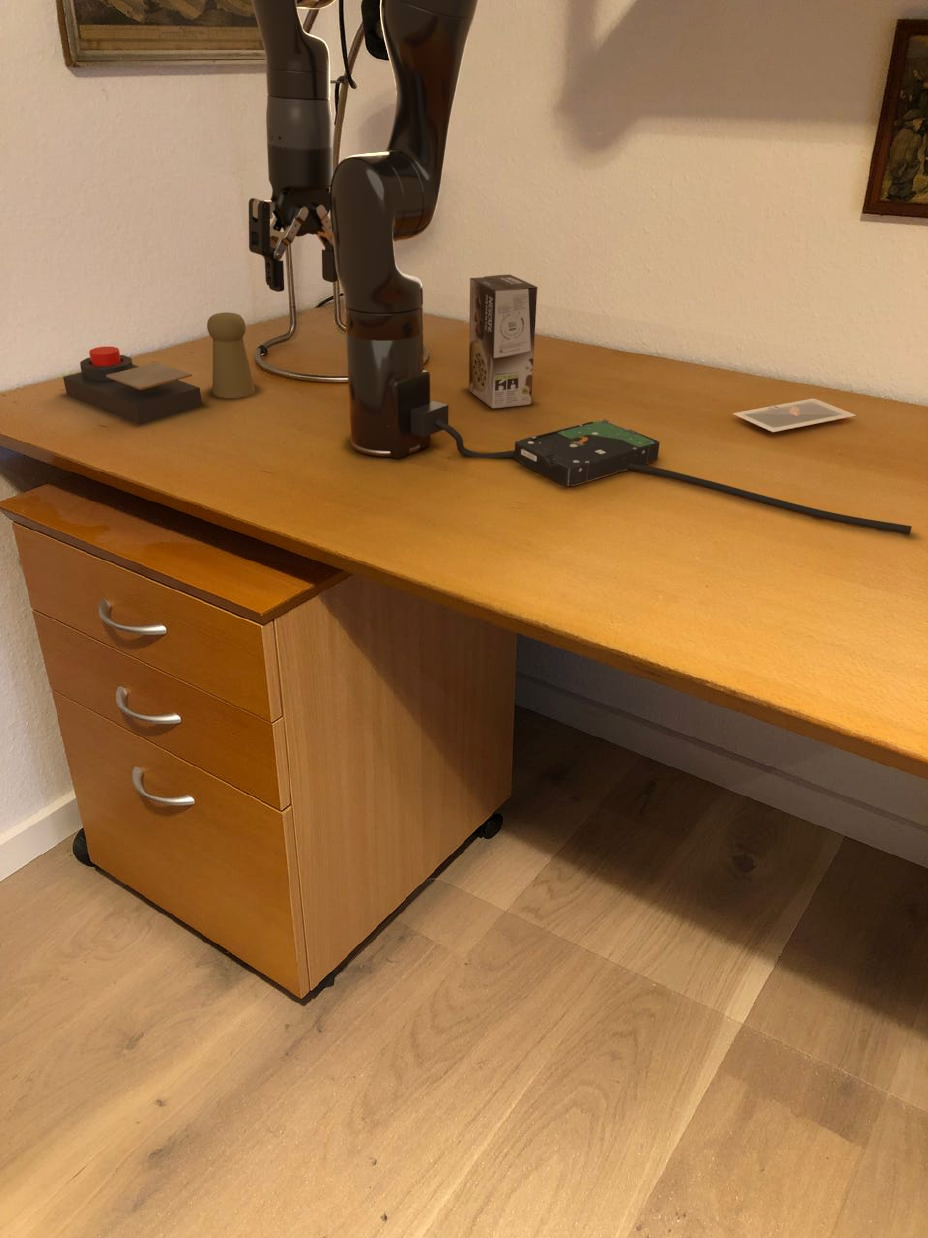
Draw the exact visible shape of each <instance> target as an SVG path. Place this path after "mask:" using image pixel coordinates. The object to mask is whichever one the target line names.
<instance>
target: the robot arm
mask: <svg viewBox="0 0 928 1238" xmlns="http://www.w3.org/2000/svg"><path fill="white" fill-rule="evenodd" d="M250 1H251V4H252V8H253V11H254V16H255V19H256V22H257V26H258V31H259V34H260V38H261V42H262V45H263V49H264V54H265V76H266V77H265V78H266V94H267V96H266V109H265V110H266V111H265V113H266V114H265V127H266V129H265V130H266V148H267V150H266V151H267V169H268V170H267V172H268V173H267V174H268V181H269V184H270V187H271V190H272V191H271V197H270V200H269V199H264V200H263V199H259V198H255V197H252V198H250V199H249V201H248V248H249V249H248V250H249V252H251V253H253V254H256V255H260V256H262V257H263V259H264V272H265V274H264V275H265V276H264V277H265V283H266V285H267V286H268V288H269V289H270V291H274V292H277V293H280V292H284V291H285V269H284V267H285V266H284V259H282V258H283V256H284V255H285V252H286V250H287V248H288V246H291V245H292V243H293V242H294V240H295V238H296V237H304V236H306V235H308V234H309V235H315V236H316V237H317V238H318V240H319V241H320V243H321V244H322V246H323V247H324V248H321V277H322V280H324V281H326V282H329V283H336V282H338V281H339V284H340V287H341V289H342V293H343V303H344V320H345V342H346V343H345V344H346V345H345V347H346V360H347V361H346V364H347V381H348V383H347V384H348V399H349V400H348V404H349V419H350V420H349V422H350V446H351V447H352V449H353V450H354V451H357V452H359V453H361V454H364V455H368V456H374V457H383V458H384V457H388V458H394V459H396V460H399V459H401V458H404V457H406V456H408V455H411V454H414V453H416V452H418V451H422V450H423V449H426V448H428V447H431V435H434V434H436V433H439V432H442V431H444V432H446V433H447V434H448V435H450V437H452V438H453V439H454V441H455V443H456V444H455V445H456V449H457V451H458V452H459V454H460V455H462V456H464V457H467V458H473V459H474V458H476V459H477V458H479V459H495V460H496V459H498V460H501V459H502V460H503V459H504V460H505V459H514V456H515V450H506V451H499V452H498V451H497V452H485V453H483V452H482V453H481V452H475V451H472V450H470V449H468V448H466V447H465V446H464V440H463V437H462V435H461V434H460V433H459V432H458V430H457V429H455V428H454V427H452V426H451V425H449V404H447V403H444V402H440V401H436V400H431V374H430V371H428V370H424V369H425V368H424V363H425V361H424V358H425V357H424V286H423V284H422V280H421V279H420V278H418V277H417V276H415V275H413V274H411V273H408V272H404V271H402V270H401V269H399V268H398V266H397V262H396V254H395V243H396V242H401V241H407V240H410V239H414V238H416V237H418V236H420V235H422V234H423V233H424V232H426V230H427V229H428V228H429V227H430V225H431V223H432V221H433V219H434V216H435V214H436V210H437V207H438V203H439V199H440V198H439V197H440V191H441V185H442V178H443V171H444V164H445V157H446V151H447V150H446V149H447V143H448V136H449V129H450V122H451V118H452V117H451V116H452V112H453V107H454V102H455V97H456V94H457V89H458V85H459V79H460V76H461V69H462V65H463V60H464V55H465V52H466V47H467V43H468V40H469V35H470V32H471V27H472V25H473V21H474V17H475V13H476V9H477V5H478V0H380V3H379V4H380V5H379V9H380V10H379V11H380V23H381V30H382V33H383V38H384V43H385V47H386V50H387V54H388V55H387V56H388V59H389V63H390V67H391V70H392V74H393V79H394V84H395V107H394V108H395V109H394V115H393V121H392V128H391V132H390V136H389V141H388V144H387V147H386V149H385V151H381V152H371V153H360V154H355V155H354V154H353V155H349V156H347V157H344V158H343V159H342V160H340V162H338V164H337V165H336V167H335V170H334V135H333V134H334V125H333V124H334V123H333V122H334V121H333V113H332V105H331V64H330V62H331V60H330V50H329V48H328V47H329V46H328V45H327V43H326V42H325V41H324V40H323V39H322V38H320V37H317V36H315V35H313V34H310V33H307V32H306V31H305V30H304V27H303V24H302V21H301V18H300V15H299V11H298V9H309V10H319V9H324V8H326V7H328V6H330V5H331V4H333V3H334V2H335V1H336V0H250ZM329 214H330V216H329ZM271 219H272V222H271ZM281 230H283V231H281ZM627 469H628V470H630V471H634V472H639V473H644V474H650V475H653V476H659V477H663V478H667V479H671V480H674V481H679V482H682V483H687V484H691V485H694V486H699V487H702V488H706V489H710V490H713V491H717V492H721V493H724V494H728V495H731V496H735V497H738V498H742V499H744V500H749V501H752V502H755V503H759V504H763V505H766V506H767V505H768V506H771V507H775V508H779V509H783V510H785V511H790V512H792V513H798V514H801V515H805V516H809V517H814V518H817V519H821V520H822V519H823V520H827V521H832V522H836V523H841V524H846V525H851V526H857V527H863V528H869V529H874V530H875V529H876V530H880V531H887V532H892V533H899V534H900V533H901V534H906V535H911V532H912V525H906V524H900V523H895V522H890V521H889V522H888V521H882V520H875V519H869V518H863V517H858V516H851V515H846V514H842V513H836V512H833V511H827V510H822V509H818V508H814V507H810V506H806V505H801V504H797V503H794V502H790V501H786V500H782V499H779V498H774V497H771V496H767V495H763V494H761V493H760V494H759V493H756V492H752V491H748V490H744V489H741V488H737V487H734V486H731V485H727V484H723V483H719V482H716V481H712V480H708V479H705V478H701V477H697V476H693V475H689V474H686V473H685V474H684V473H681V472H677V471H673V470H669V469H665V468H659V467H655V466H652V465H647V464H644V465H641V464H636V463H629V464H628V465H627Z"/></svg>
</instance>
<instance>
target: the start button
mask: <svg viewBox="0 0 928 1238" xmlns="http://www.w3.org/2000/svg"><path fill="white" fill-rule="evenodd" d="M88 355H89V358H90V360H91V365H93V366H112V365H116V364H119V363H121V358H120V355H121V353H120V348H118V347H115V346H97V347H94V348H91V349H89V351H88Z"/></svg>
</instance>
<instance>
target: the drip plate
mask: <svg viewBox="0 0 928 1238" xmlns="http://www.w3.org/2000/svg"><path fill="white" fill-rule="evenodd" d="M192 376H193V375H192V373H189V372H187V371H185V370H181V369H177V368H175V367H171V366H169V365H166V364H163V363H160V362H153V363H149V364H144V365H141V366H139V367H137V368H133V369H129V370H125V371H121V372H117V373H113V374H109V375H106V377H107V378H110V379H113V380H115V381H118V382H121V383H123V384H126V385H129V386H131V387H134V388H137V389H140V390H142V389H146V388H150V387H153V386H157V385H161V384H165V383H168V382H172V381H176V380H179V381H180V380H183V379H187V378H190V377H192Z"/></svg>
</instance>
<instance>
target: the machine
mask: <svg viewBox="0 0 928 1238" xmlns="http://www.w3.org/2000/svg"><path fill="white" fill-rule="evenodd" d="M120 358H121V363H119V364H116V365H112V366H93V365H91V360H90V357H86V358H84V359H83V360H80V362H79V366H80V371H81V372H76V373H73V374H68V375H64V376H62V380H63V383H64V388H65V393H66V396H68V397H71V398H73V399H76V400H78V401H80V402H82V403H85V404H88V405H90V406H92V407H95V408H97V409H100V410H102V411H104V412H107V413H110V414H112V415H115V416H117V417H119V418H122V419H124V420H126V421H128V422H132V423H134V424H137V425H139V426H140V425H144V424H147V423H151V422H153V421H157V420H161V419H163V418H167V417H170V416H174V415H178V414H181V413H184V412H188V411H191V410H195V409H198V408H201V407H203V401H202V395H201V388H200V387H199V386H196V385H193V384H190V383H187V382H185V381H182V380H180V379H179V380H176V381H172V382H168V383H165V384H161V385H157V386H153V387H150V388H146V389H142V390H140V389H137V388H134V387H131V386H129V385H126V384H123V383H121V382H118V381H115V380H113V379H110V378H107V377H106V375H109V374H113V373H117V372H121V371H125V370H129V369H133V368H137V367H140V366H139V365H136V364H133V359H132V357H130V356H128V355H124V354H120Z"/></svg>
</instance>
